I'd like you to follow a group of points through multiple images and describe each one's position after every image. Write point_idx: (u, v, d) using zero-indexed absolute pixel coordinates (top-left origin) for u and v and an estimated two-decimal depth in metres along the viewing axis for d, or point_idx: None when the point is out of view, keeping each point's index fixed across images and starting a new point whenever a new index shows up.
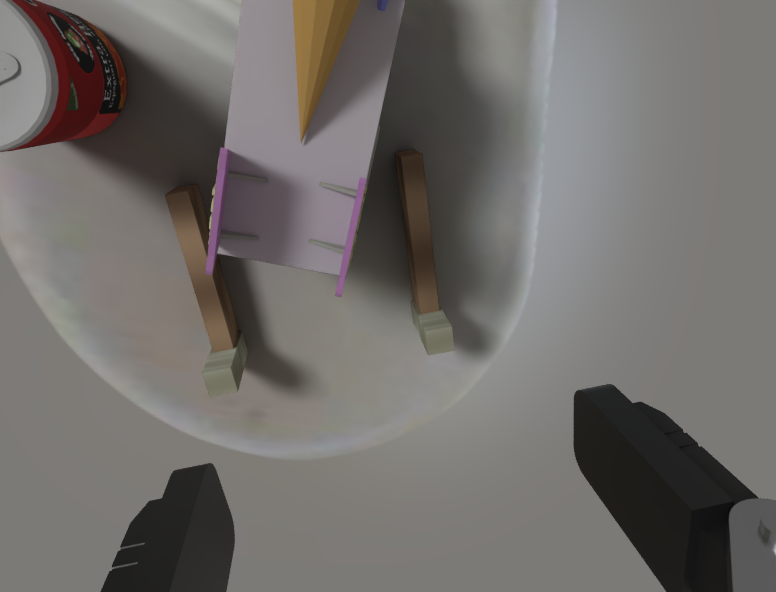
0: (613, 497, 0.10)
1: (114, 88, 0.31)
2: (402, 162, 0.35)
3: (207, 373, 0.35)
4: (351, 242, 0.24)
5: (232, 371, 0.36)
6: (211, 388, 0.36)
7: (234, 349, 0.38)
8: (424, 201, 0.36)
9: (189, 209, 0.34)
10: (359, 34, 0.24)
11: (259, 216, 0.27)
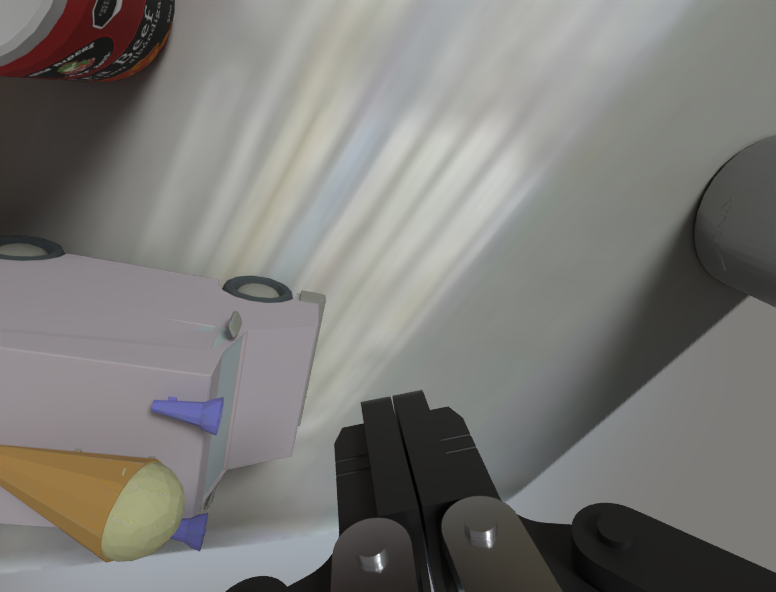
0: None
1: None
2: None
3: None
4: None
5: None
6: None
7: None
8: None
9: None
10: None
11: None
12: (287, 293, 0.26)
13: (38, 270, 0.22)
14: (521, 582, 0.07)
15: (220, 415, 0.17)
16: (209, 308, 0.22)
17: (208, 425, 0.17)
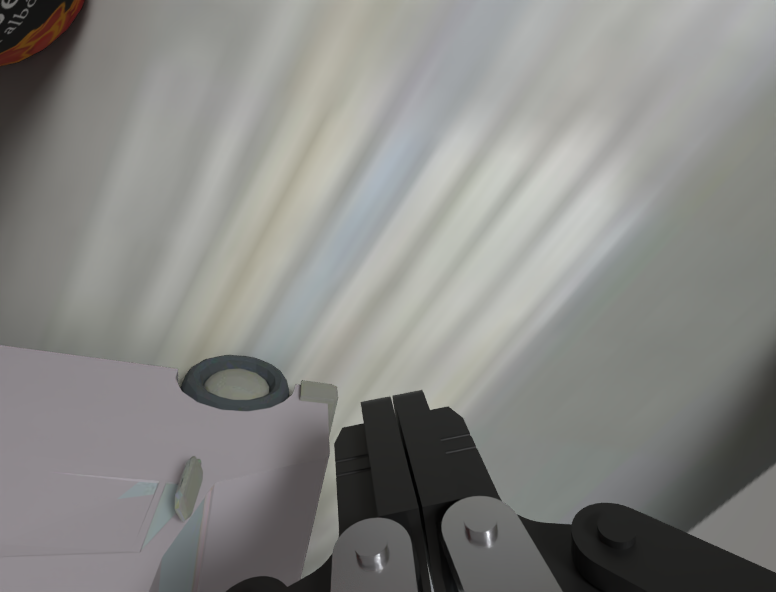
0: None
1: None
2: None
3: None
4: None
5: None
6: None
7: None
8: None
9: None
10: None
11: None
12: (280, 385, 0.17)
13: None
14: (521, 582, 0.07)
15: None
16: (153, 437, 0.14)
17: None
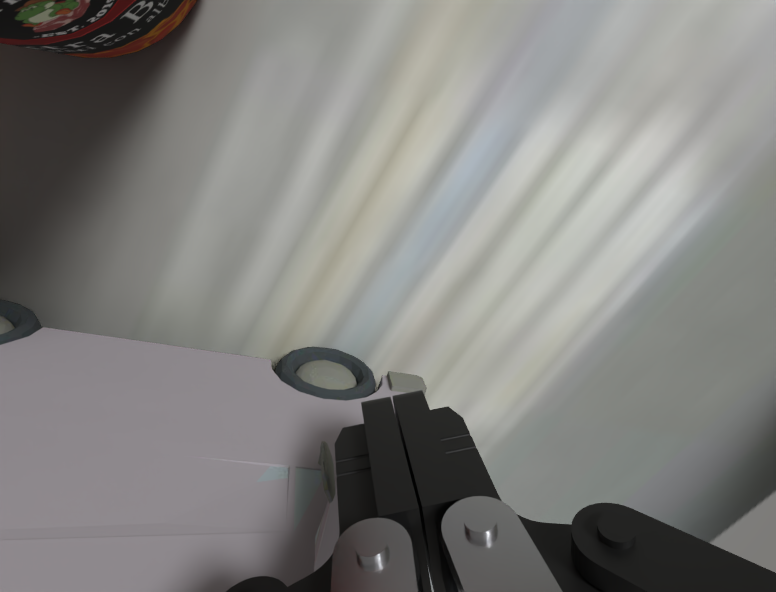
0: None
1: None
2: None
3: None
4: None
5: None
6: None
7: None
8: None
9: None
10: None
11: None
12: (369, 376, 0.18)
13: None
14: (521, 583, 0.07)
15: None
16: (269, 424, 0.14)
17: None
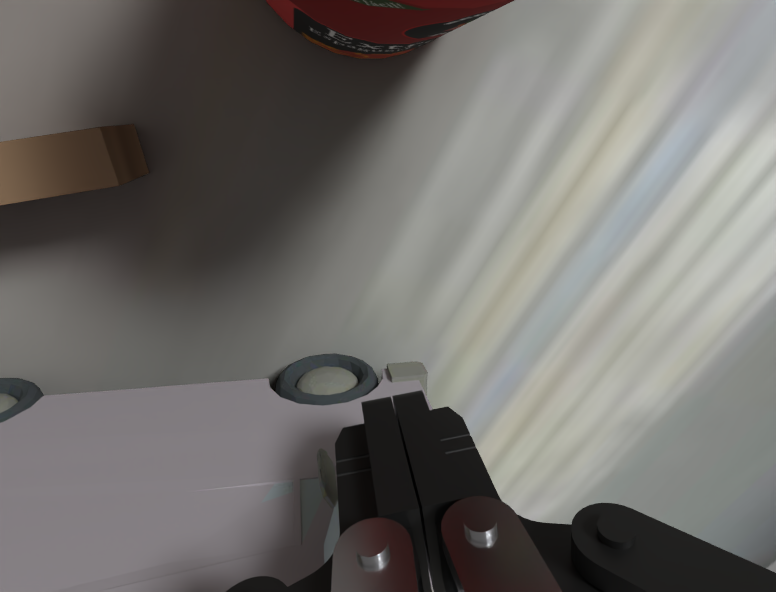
0: None
1: (350, 46, 0.13)
2: None
3: None
4: None
5: None
6: None
7: None
8: None
9: (69, 184, 0.13)
10: None
11: None
12: (368, 373, 0.18)
13: None
14: (521, 583, 0.07)
15: None
16: (271, 442, 0.14)
17: None
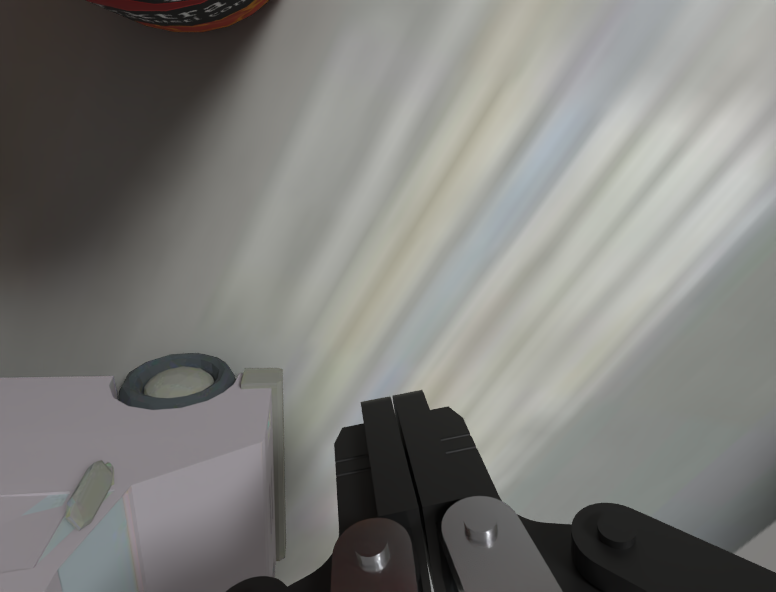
0: None
1: (128, 16, 0.12)
2: None
3: None
4: None
5: None
6: None
7: None
8: None
9: None
10: None
11: None
12: (222, 377, 0.17)
13: None
14: (521, 582, 0.07)
15: None
16: (71, 448, 0.13)
17: None
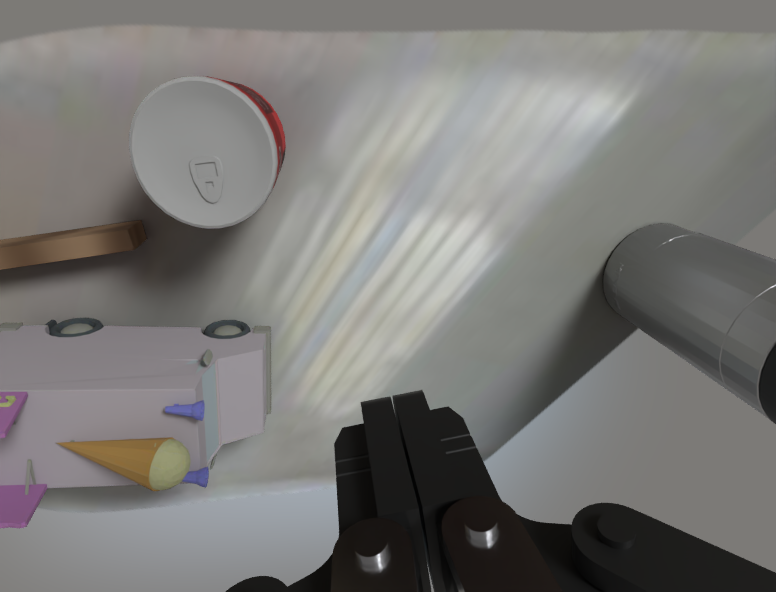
0: None
1: None
2: None
3: None
4: None
5: None
6: None
7: None
8: None
9: (115, 249, 0.36)
10: None
11: None
12: (245, 329, 0.40)
13: (90, 341, 0.36)
14: (521, 582, 0.07)
15: (202, 410, 0.31)
16: (194, 348, 0.36)
17: (196, 415, 0.31)
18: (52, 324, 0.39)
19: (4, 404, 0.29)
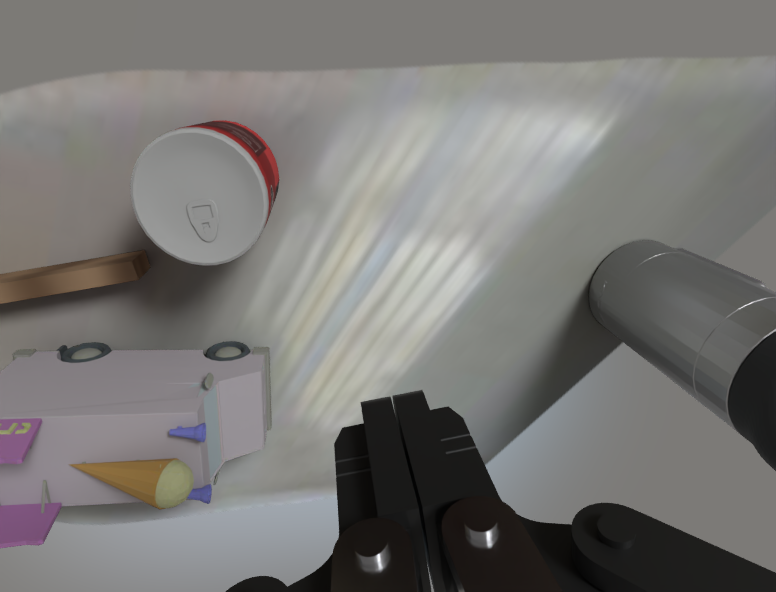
0: None
1: None
2: None
3: None
4: None
5: None
6: None
7: None
8: None
9: (121, 279, 0.38)
10: None
11: None
12: (245, 350, 0.42)
13: (99, 366, 0.39)
14: (521, 582, 0.07)
15: (204, 432, 0.33)
16: (196, 371, 0.39)
17: (198, 438, 0.33)
18: (63, 349, 0.41)
19: (20, 431, 0.31)
